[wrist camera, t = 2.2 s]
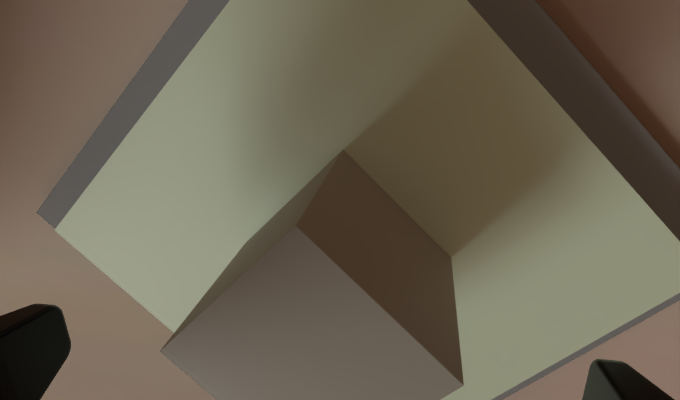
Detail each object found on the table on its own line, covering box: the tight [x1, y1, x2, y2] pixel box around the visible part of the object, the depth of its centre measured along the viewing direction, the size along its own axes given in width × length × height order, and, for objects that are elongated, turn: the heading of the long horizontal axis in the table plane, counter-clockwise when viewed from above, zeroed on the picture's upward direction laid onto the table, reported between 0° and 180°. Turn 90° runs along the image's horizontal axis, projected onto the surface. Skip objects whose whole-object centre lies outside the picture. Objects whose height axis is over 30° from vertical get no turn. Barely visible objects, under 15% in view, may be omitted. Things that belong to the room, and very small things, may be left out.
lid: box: [55, 0, 680, 400], centre depth 10 cm, size 11×11×5 cm
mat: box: [36, 0, 680, 400], centre depth 12 cm, size 13×13×1 cm
